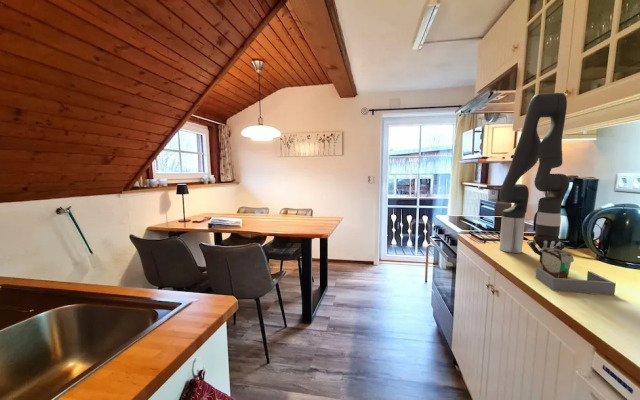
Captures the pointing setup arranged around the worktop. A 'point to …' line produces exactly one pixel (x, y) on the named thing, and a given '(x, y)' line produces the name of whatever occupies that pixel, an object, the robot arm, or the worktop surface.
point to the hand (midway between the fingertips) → (544, 264)
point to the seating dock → (578, 283)
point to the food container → (556, 262)
